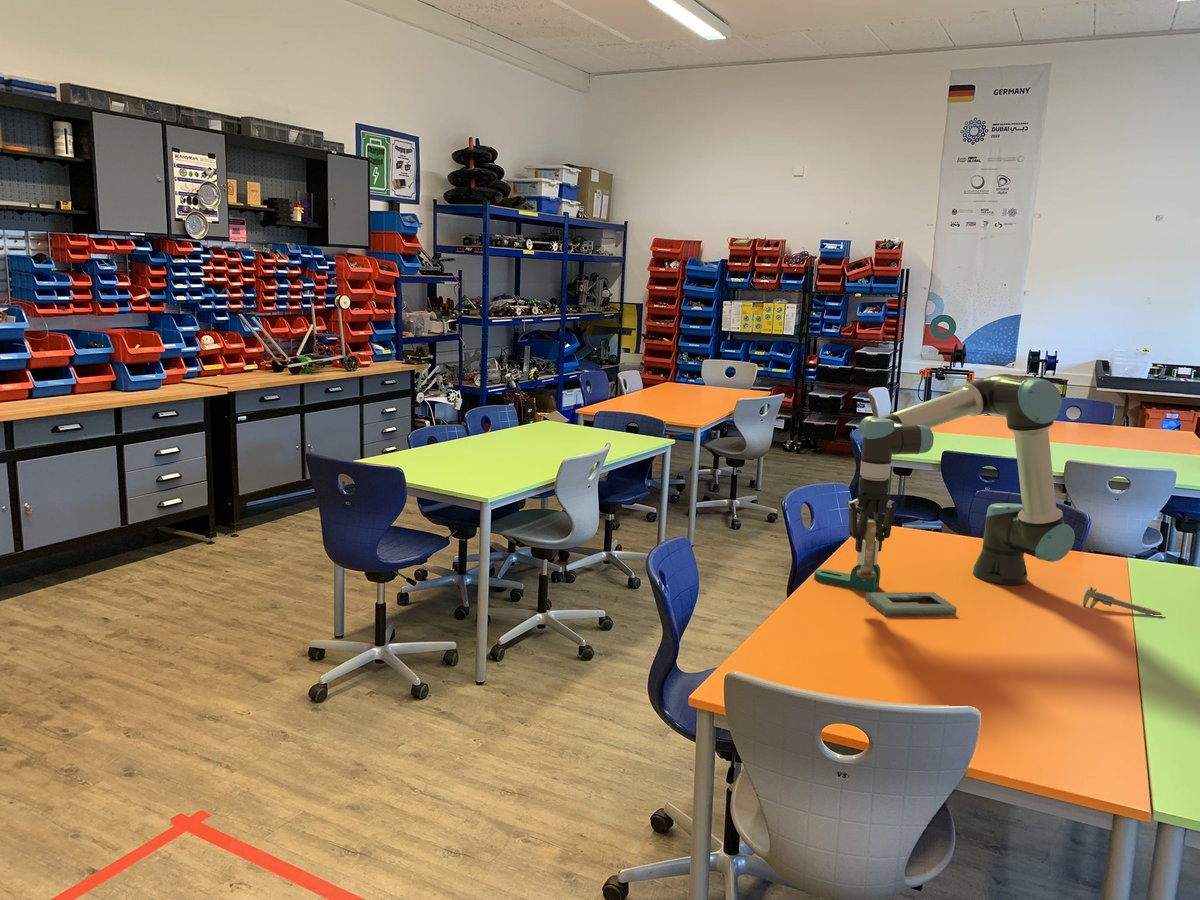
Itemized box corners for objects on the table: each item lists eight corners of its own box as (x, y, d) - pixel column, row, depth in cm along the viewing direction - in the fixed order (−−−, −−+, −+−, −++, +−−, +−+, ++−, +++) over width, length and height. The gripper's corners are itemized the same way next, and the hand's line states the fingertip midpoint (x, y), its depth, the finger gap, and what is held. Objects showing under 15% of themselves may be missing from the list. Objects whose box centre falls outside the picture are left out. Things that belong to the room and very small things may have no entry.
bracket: (878, 587, 255) (881, 561, 253) (872, 593, 249) (875, 567, 248) (818, 574, 264) (820, 549, 262) (811, 580, 258) (813, 555, 257)
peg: (870, 572, 238) (875, 519, 235) (878, 578, 233) (883, 524, 230) (853, 573, 237) (858, 519, 234) (861, 578, 232) (865, 524, 229)
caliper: (1083, 607, 245) (1086, 586, 244) (1082, 606, 246) (1085, 585, 245) (1165, 618, 240) (1169, 597, 239) (1164, 617, 241) (1168, 595, 240)
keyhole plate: (933, 599, 246) (933, 592, 245) (955, 615, 234) (956, 607, 234) (865, 600, 243) (866, 592, 242) (885, 616, 231) (885, 608, 231)
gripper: (896, 474, 235) (888, 558, 239) (839, 474, 232) (832, 559, 237) (910, 480, 227) (901, 567, 232) (851, 480, 225) (844, 568, 229)
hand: (867, 563), depth 234 cm, fingers closed on peg, 3 cm apart
